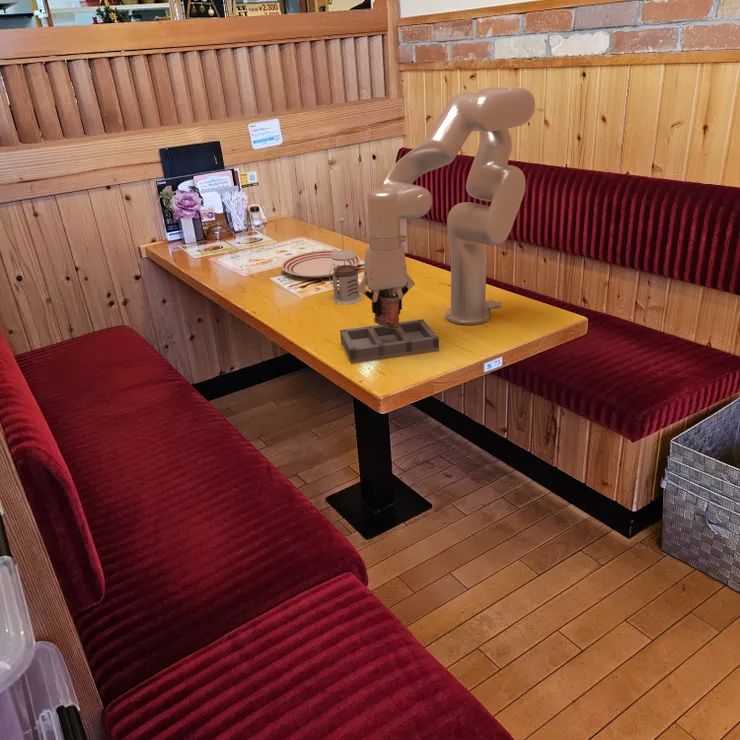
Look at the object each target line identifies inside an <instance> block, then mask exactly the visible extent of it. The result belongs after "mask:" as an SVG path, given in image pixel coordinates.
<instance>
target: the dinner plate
mask: <svg viewBox="0 0 740 740" xmlns="http://www.w3.org/2000/svg"><path fill="white" fill-rule="evenodd" d="M337 251H338V250H316V251H310V252H305V253H300V254H298V255H295V256H292V257H289V258H287V259H286V260H285V261H283V262H282V264H281V269H282V271H283V272H285V273H287V274H290V275H293V276H298V277H301V278H302V277H303V278H306V277H309V278H308V279H322V278H321V277H326V278H329V273H330V276H332V277H333V273H334V271H333V269H334V268H335V267H336V266H337V265H338V264H339V265H338V266H341V265H344V261H336V260H333V259H331V255H332V254H333V253H335V252H337ZM360 263H361V258H360V256H359V255H358V254H357V257H356V258H354V259H351V260H345V265H353V266H355V267H356V268H357V267H358V265H359V264H360ZM334 264H335V267H334ZM332 265H333V266H332ZM331 266H332V268H331ZM330 268H331V271H330Z"/></svg>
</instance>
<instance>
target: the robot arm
mask: <svg viewBox="0 0 740 740" xmlns="http://www.w3.org/2000/svg"><path fill="white" fill-rule="evenodd" d="M535 109H536V101H535V97H534V95H533V93H532V92H531V91H530V90H528V89H525V88H522V87H521V88H520V87H519V88H518V87H485V88H481V89H480V90H478V91H477V92H461V93H458V94H455V95H454V96H453V97H451V99H450V100H449V101H448V102H447V104H446V105H445V107H444V109H443V111H442V112H441V114H440V115H439V116H438V119H437V120H436V121H435V124H434V125H433V127H432V128H431V130H430V131H429V132H428V134H427V136H426V138H425V139H424V140H423V141H422V142H421V143H419V144H418V145H417V146H415V147H413V149H411V150H410V151H408V152H407V153H406V154H405V155H403V156H402V157H401V158H400V159H399V160H397V162H395V164H394V165H392V168H391V169H389V172H388V173H387V175H386V177H385V178H384V180H383V181H382V183H381V185H380V187H379V188H375V189H373V190H370V191H369V192H368V194H367V198H366V201H367V218H368V219H367V225H368V227H367V228H368V245H369V246H368V247H366V248H365V253H364V263H363V264H364V267H363V269H364V270H363V278H362V280H361V282H359V284H358V285H359V286H358V288H357V289H358V291H359V293H361V294H362V295H364V296H366V297H367V298H368V299H369V300H371V311H372V314H374V316H375V315H376V317H379V316H380V308H379V301H378V299H377V298H378V293H379V290H386V289H392V288H395V289H396V290H397V294H395V296H397V297H399V315H401V311H402V310H403V299H404V296H405V295H406V294H407V293H408V292H409V290H410V289H411V288H413V287H414V286H415V285H416V283H415V281H414V280H413V279H412V277H411V276H410V275H409V274H408V268H407V261H406V255H405V250H404V246H403V245H402V243H404V242H407V236H406V235H402V234H401V220H403V219H417V218H421V217H422V218H423V216H425V215H427V214H428V213H429V212H430V210H431V208H432V205H433V196H432V194H431V192H430V191H429V190H428V189H427V188H425V187H423V186H422V185H418V184H417V185H416V184H413V183H414V182H415V181H416V180H417V179H418V178H420V177H421V176H423V175H425V174H426V173H428V172H432V171H434V170H437V169H439V168H440V169H441V168H442V167H445V166H447V165H449V164H451V163H452V162H453V161H454V160H455V159H456V157H457V156H458V154H459V152H460V151H461V149H462V147H463V146H464V145H465V143H466V141H467V140H468V137H469V136H470V135H471V133H472V132H479V144H478V147H477V151H476V153H475V156H474V159H473V162H472V165H471V168H470V170H469V173H468V176H467V180H466V182H465V183H466V184H465V190H466V193H467V194H468V195H469V196H470V197H471V198H474V199H477V200H481V201H485V202H489V203H490V202H491V203H490V205H485V204H480V203H475V202H470V201H467V202H460V203H457V204H455V205H454V206H453V207H451V209H450V211H449V212H448V215H447V220H446V224H447V225H446V226H447V232H448V237H449V245H450V308H447V310H446V311H445V313H444V317H445V319H446V320H447V321H449V322H451V323H452V324H457V325H465V326H467V325H469V326H473V325H478V324H482V323H485V322H487V321H489V320H490V318H491V311H492V310H494V309H495V310H496V309H502V308H503V303H502V301H501V300H500V301H495V300H494V299H491V300H487V299H486V294H487V293H486V292H487V291H486V290H487V289H486V285H487V261H488V260H487V259H488V257H487V249H486V248H485V245H487V246H491V247H494V246H495V247H496V246H499V245H501V244H503V243H504V242H505V241H506V240H507V239H508V237H509V235H510V233H511V231H512V228H513V226H514V223H515V220H516V217H517V214H518V212H519V210H520V208H521V207H520V206H521V205H522V204H521V203H522V201H523V199H524V195H525V191H526V177H525V174H524V173H523V170H522V169H521V168H519V167H518V166H515V165H510V164H508V162H509V159H510V156H511V153H512V149H513V140H512V136H511V133H510V129H511V128H517V127H521V126H524V125H525V124H527V123H528V122H529V121H530V120H531V118H532V117H533V115H534V112H535ZM366 287H367V288H368V289H366Z"/></svg>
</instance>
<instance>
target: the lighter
mask: <svg viewBox="0 0 740 740" xmlns="http://www.w3.org/2000/svg"><path fill="white" fill-rule="evenodd" d="M396 294H397V290H396V289H395V288H392V289H386V290H379V293H378V298H377V299H378V301H379V308H380V316H379V317H376V315H375V314H374V317H373V320H374V322H373V323H375V324H377V325H381V326H384V327H388V328H392V329H396V328H399V327H400V323H399V322H400V319H399V318H400V317H399V316H400V314H399V297H397V296H395V295H396Z"/></svg>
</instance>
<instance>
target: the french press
mask: <svg viewBox="0 0 740 740" xmlns="http://www.w3.org/2000/svg"><path fill="white" fill-rule="evenodd" d="M345 222H346V221H345V218H344V217H340V218H338V223H341V225H343V223H345ZM343 231H344V229H343V227H341V234H342V235H341V237H342V240H344V232H343ZM336 251H337V252H335V253H333V254H332V255H331V259H333V260H336V261H344V265H341V266H338V265H339V264H338V265H337V266H336V267H335V264H334V267H335V268H334V269H333V271H334V273H333V276H332V281H331V277H330V273H329V277H328V278H329V282H330V285H331V286H332V287H333V296H332V297H331V299H332V300H333V301H334V302H336V303H341V304H340V305H342V304H345V305H353V304H352V303H354V304H357V303H360V302H361V301H363V299H362V297H363V296H362V295H361V294H360V292H359V291H358V289H357V288H358V286H359V285H360V282H359V272H358V271H357V269H358V267H357V266H356V267H355V266H353V265H345V260H351V259H354V258H356V257H357V255H358V253H356V252H355V251H353V250H351V249H350V250H349V249H345V245H344V242H342V249H340V250H336ZM332 266H333V265H332ZM332 266H331V268H332ZM331 268H330V271H331ZM360 300H361V301H360ZM359 301H360V302H359ZM356 302H357V303H356ZM336 303H335V304H336Z"/></svg>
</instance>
